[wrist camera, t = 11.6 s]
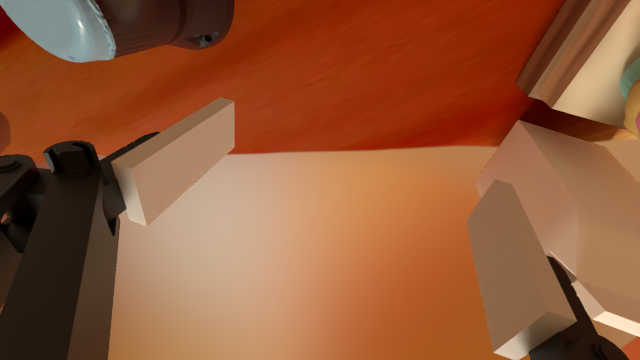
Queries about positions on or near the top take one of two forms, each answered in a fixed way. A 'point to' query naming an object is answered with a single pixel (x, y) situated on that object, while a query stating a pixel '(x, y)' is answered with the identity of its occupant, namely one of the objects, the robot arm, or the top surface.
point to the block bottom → (554, 45)
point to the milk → (578, 215)
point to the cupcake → (632, 97)
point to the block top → (596, 64)
